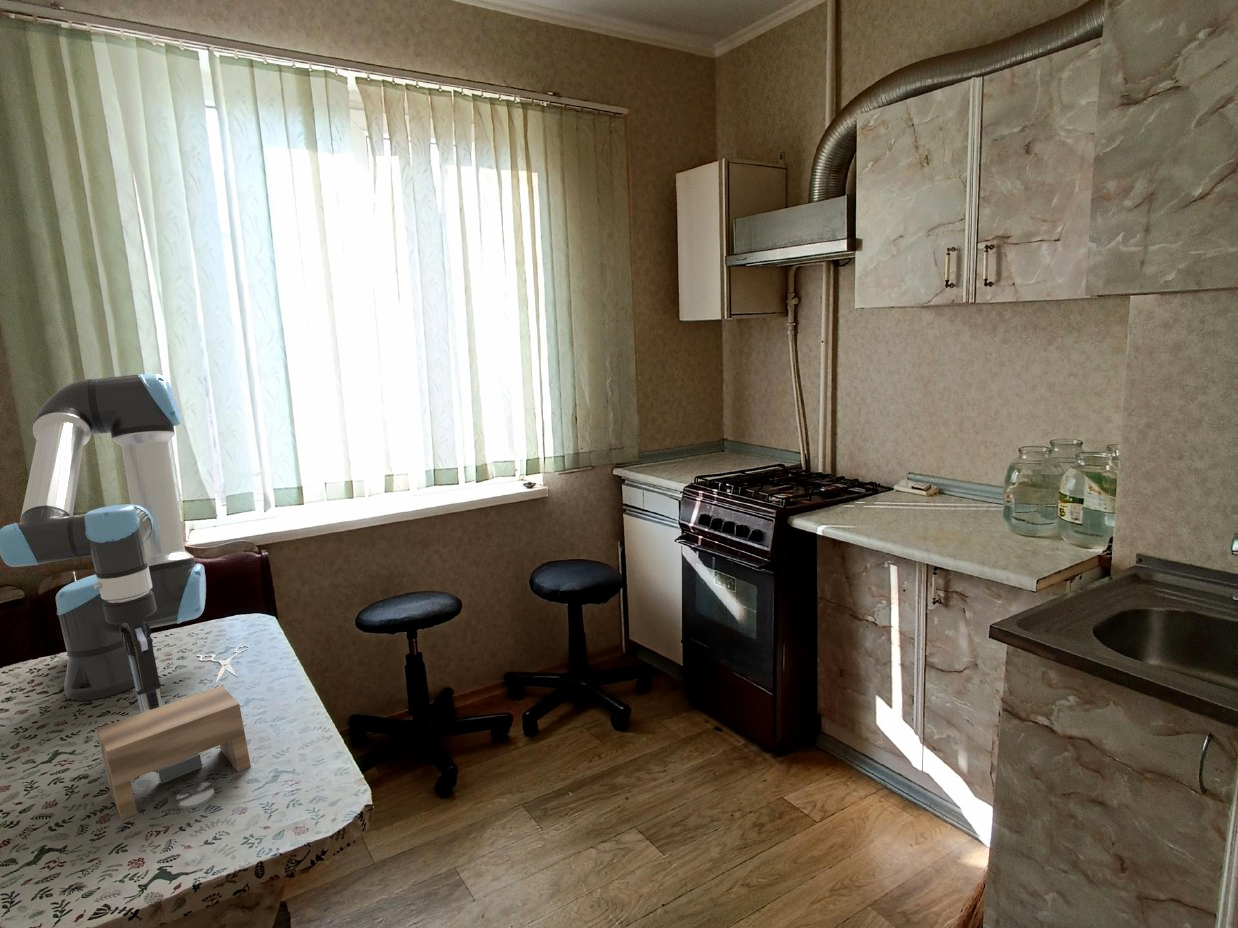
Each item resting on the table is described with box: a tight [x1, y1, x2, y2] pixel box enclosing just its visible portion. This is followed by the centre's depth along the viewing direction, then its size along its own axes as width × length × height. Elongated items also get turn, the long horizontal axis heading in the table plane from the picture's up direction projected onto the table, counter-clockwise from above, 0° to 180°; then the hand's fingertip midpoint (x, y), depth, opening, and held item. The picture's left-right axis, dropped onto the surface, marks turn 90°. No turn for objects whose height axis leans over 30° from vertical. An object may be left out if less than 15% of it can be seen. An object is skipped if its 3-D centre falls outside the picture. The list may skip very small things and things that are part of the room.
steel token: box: [175, 782, 216, 810], centre depth 115 cm, size 5×5×1 cm
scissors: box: [196, 645, 250, 683], centre depth 166 cm, size 11×1×20 cm
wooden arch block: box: [95, 685, 252, 821], centre depth 120 cm, size 10×18×11 cm, turn 132°
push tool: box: [129, 655, 203, 785], centre depth 128 cm, size 19×6×16 cm, turn 42°
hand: (154, 720), depth 135 cm, fingers closed on push tool, 3 cm apart
